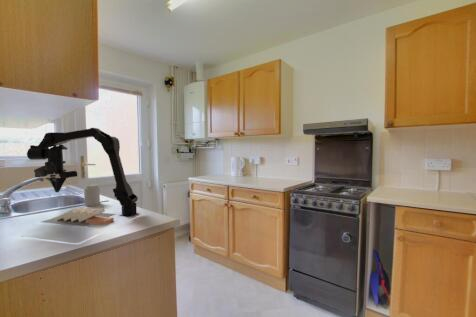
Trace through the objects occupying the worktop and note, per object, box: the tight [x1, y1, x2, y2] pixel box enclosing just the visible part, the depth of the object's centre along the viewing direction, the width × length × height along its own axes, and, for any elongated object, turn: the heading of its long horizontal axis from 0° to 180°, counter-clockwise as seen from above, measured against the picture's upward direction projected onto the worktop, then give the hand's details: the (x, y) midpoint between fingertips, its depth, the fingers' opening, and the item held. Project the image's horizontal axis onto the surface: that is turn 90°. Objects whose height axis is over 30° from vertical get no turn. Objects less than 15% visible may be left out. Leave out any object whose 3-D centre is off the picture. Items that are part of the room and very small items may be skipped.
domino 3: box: [71, 207, 98, 222], centre depth 104 cm, size 2×5×10 cm
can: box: [83, 183, 101, 207], centre depth 133 cm, size 8×8×12 cm
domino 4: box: [78, 207, 106, 222], centre depth 103 cm, size 2×5×10 cm
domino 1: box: [55, 206, 84, 220], centre depth 106 cm, size 2×5×10 cm
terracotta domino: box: [86, 216, 114, 226], centre depth 102 cm, size 2×5×10 cm
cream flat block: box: [63, 207, 91, 221], centre depth 105 cm, size 2×5×10 cm
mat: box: [41, 212, 116, 227], centre depth 108 cm, size 24×18×1 cm
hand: (57, 191), depth 110 cm, fingers closed
